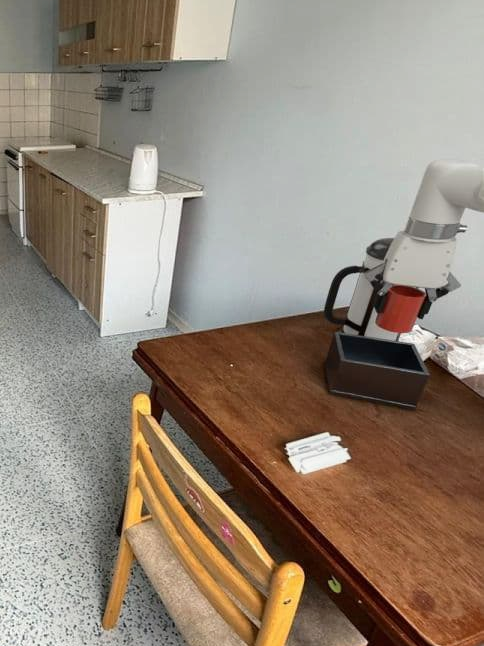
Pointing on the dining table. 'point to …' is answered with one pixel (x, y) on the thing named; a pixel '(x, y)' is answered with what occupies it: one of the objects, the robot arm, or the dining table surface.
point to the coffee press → (361, 296)
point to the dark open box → (375, 370)
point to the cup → (400, 309)
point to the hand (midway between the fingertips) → (398, 312)
